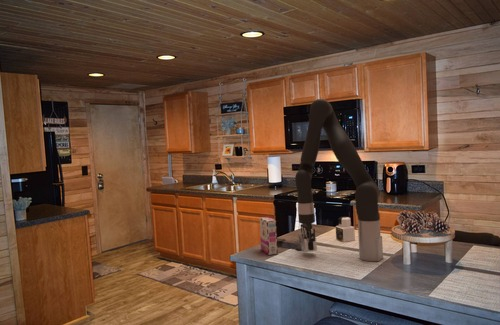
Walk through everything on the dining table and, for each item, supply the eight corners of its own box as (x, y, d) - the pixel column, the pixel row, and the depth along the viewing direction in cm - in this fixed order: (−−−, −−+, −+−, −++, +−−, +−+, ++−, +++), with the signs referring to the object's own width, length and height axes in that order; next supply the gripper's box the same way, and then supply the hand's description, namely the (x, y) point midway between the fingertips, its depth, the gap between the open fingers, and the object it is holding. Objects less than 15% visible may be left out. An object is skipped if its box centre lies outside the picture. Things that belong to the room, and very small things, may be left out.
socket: (312, 247, 180) (311, 235, 180) (316, 250, 174) (316, 237, 174) (301, 249, 179) (300, 236, 179) (305, 252, 174) (304, 239, 173)
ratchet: (313, 247, 189) (313, 232, 189) (306, 251, 182) (305, 236, 182) (275, 242, 202) (275, 228, 201) (267, 246, 195) (266, 232, 195)
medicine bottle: (335, 239, 202) (334, 216, 201) (347, 237, 204) (346, 215, 203) (343, 242, 195) (342, 219, 194) (355, 240, 197) (354, 217, 196)
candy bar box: (278, 254, 181) (276, 220, 180) (268, 256, 179) (266, 221, 179) (270, 248, 192) (268, 216, 191) (260, 250, 190) (258, 217, 189)
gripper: (319, 213, 170) (322, 251, 170) (308, 209, 184) (311, 243, 184) (303, 215, 168) (306, 253, 169) (293, 210, 182) (296, 245, 183)
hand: (308, 248), depth 177 cm, fingers closed on socket, 5 cm apart
